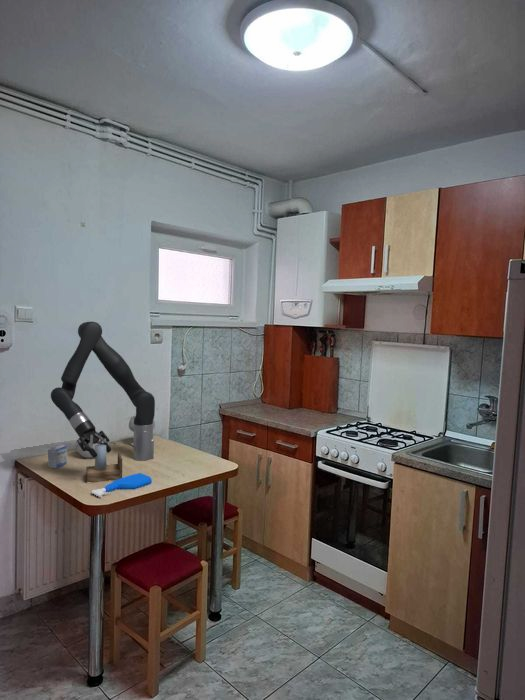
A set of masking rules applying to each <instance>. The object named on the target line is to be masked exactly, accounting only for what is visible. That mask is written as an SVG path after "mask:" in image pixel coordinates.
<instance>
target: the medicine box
mask: <svg viewBox="0 0 525 700" xmlns="http://www.w3.org/2000/svg"><path fill="white" fill-rule="evenodd" d="M67 452H68V451H67V445H62V444H59V445H56V446H54V447H51V448H49V449H47V468H50V469H58V468H60V467H62V466H64V465H66V464H67V461H68V459H67Z"/></svg>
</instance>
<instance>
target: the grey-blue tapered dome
mask: <svg viewBox="0 0 525 700" xmlns="http://www.w3.org/2000/svg"><path fill="white" fill-rule="evenodd" d="M95 451H96V453H97V454H98V455H97V456H96V457H95V458H94V466H95V470H105V469H106V465H107V452H106V445H96V446H95Z"/></svg>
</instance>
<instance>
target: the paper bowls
mask: <svg viewBox="0 0 525 700" xmlns="http://www.w3.org/2000/svg"><path fill="white" fill-rule="evenodd" d="M105 440H106V439H105ZM99 441H100V439H99ZM109 442H110V441H109ZM109 442H108V445H109V446H110V443H109ZM102 443H104V442H102ZM96 445H100V444H97V443H96V444H93V445H92V448H93V449H94V450H95V446H96ZM75 446H76V452H77V453H79V454H81V457H83V458H86V459H87V458H89V459H94V458H93V457H92V456H91V454H90V453H89V452H88V451H83V450H82V449H81V447H80V445H79V444H78V442H77V441H76V445H75ZM84 447H85V446H84Z"/></svg>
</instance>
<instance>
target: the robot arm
mask: <svg viewBox="0 0 525 700" xmlns="http://www.w3.org/2000/svg"><path fill="white" fill-rule="evenodd" d="M77 335H78V336H79V338H80V339H79V343H78V345H77V348H76V349H75V351H74V352H73V354H72V356H71V357H70V359H69V360H68V362H67V364H66V366H65V368H64V370H63V373H62V375H61V377H60V380H61V382H62V385H61V387H55V388H54V389H52V391H51V393H50V399H51V401H52V403H53V404H54V405H55V406H56V407H57V409H58V410H59V411H61V412H62V414H63V415H64V416H65V417H66V419H67V420H68V422H69V424H70V426H71V427H72V428H73V430H74V432H75V433H76V434H77V436H78V437H79V438H78V439H77V440H76V442H78V444H79V445H80V447H81V449H82V450H83V451H88V452H89V453H90V454H91V456H92V457H93V458H92V459H95V457H96V456H97V455H98V454H97V453H96V451H95V450H94V449H93V448H92V445H93V444H96V443H97V444H100V445H106V454H109V453H111V451H112V448H111V446H110V444H109V445H108V442H110V439H109V437H108V436H107V435H106V433H105V432H104V431H103V430H100V431H99V432H97V431H96V426H95V425H94V423H93V422H92V420H91V419H90V418H89V417H88V415H87V414H86V413H85V412H84V411H83V409H82V407H80V405H79V404H78V403H77V402H75V401H74V400H73V399H74V397H75V393H76V389H77V383H78V381H79V379H80V376H81V374H82V371H83V369H84V367H85V365H86V363H87V360H88V358H89V357H90V355H91V352H93V353H94V354H95V356H96V358H97V359H98V360H99V362H100V363H101V364H102V366H103V367H104V368H105V370H106V371H107V372H108V374H109V375H110V376H111V377H112V379H114V381H115V382H116V383H117V384H118V385H119V386H120V387H121V388H122V389H123V390H124V392H125V393H126V394H127V397H128V398H129V400H130V401H131V403H132V404H133V406H134V407H135V416H136V417H135V418H134V432H133V442H134V446H133V459H134V460H136V461H148V460H152V459H153V460H154V457H155V456H154V452H155V451H154V449H155V445H154V442H155V440H154V429H153V419H154V420H155V413H156V412H155V411H156V410H155V409H156V403H155V402H156V400H155V396H154V395H153V394H152V393H150V392H148V391H146V390H145V389H144V388H143V387H142V386H141V385H140V384H139V382H138V381H137V380H136V378H135V375H134V374H133V371H132V369H131V368H130V366H129V365H128V363H127V362H126V360H125V359H124V358H123V357H122V355H121V354H119V352H117V351H116V350H115V349H114V348H113V347H112V346H110V344H108V343H107V342H106V340H105V339H104V338H103V336H102V335H103V328H102V326H101V324H100V323H98V322H96V321H85V322H82V323H81V324H80V325H79V326H78V329H77ZM99 439H100V441H99ZM105 439H106V440H105ZM102 442H104V443H102ZM84 446H85V447H84Z"/></svg>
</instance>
